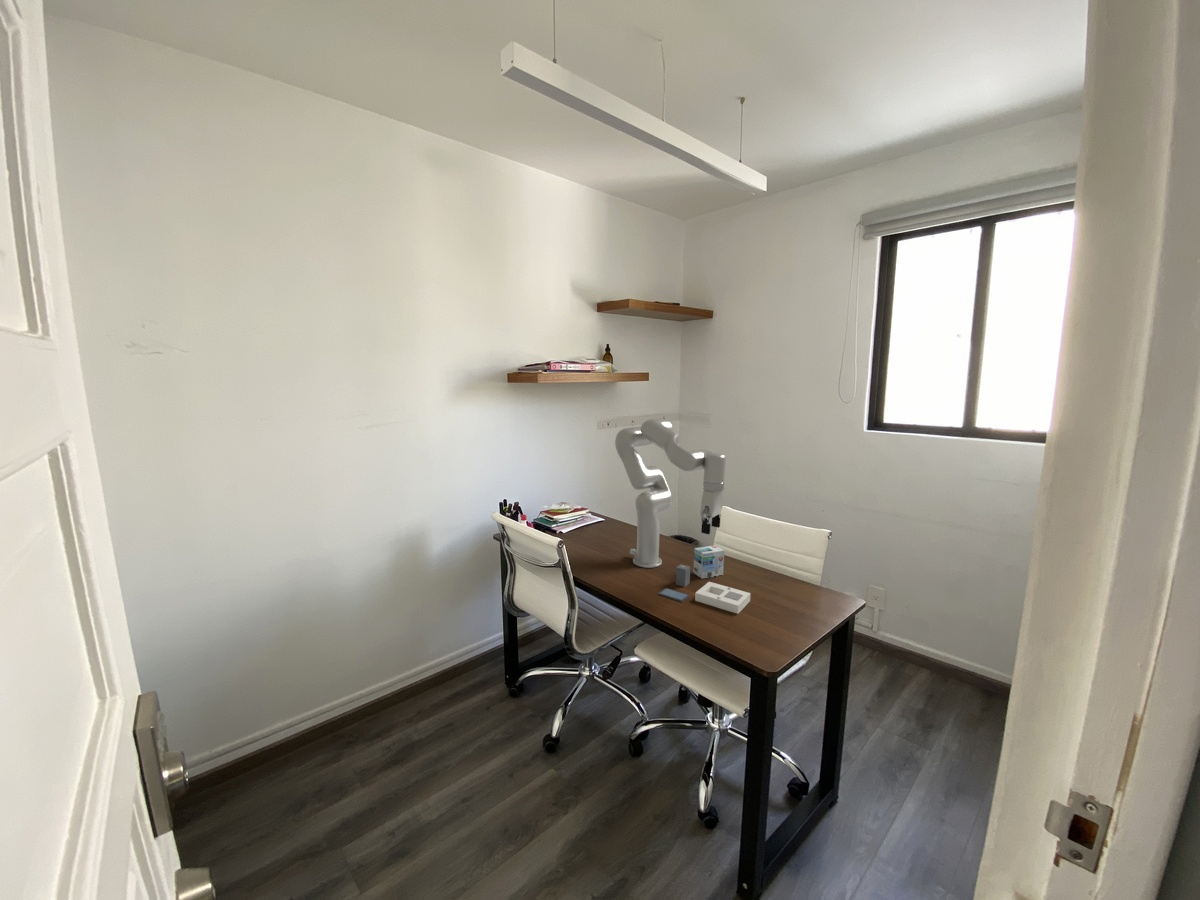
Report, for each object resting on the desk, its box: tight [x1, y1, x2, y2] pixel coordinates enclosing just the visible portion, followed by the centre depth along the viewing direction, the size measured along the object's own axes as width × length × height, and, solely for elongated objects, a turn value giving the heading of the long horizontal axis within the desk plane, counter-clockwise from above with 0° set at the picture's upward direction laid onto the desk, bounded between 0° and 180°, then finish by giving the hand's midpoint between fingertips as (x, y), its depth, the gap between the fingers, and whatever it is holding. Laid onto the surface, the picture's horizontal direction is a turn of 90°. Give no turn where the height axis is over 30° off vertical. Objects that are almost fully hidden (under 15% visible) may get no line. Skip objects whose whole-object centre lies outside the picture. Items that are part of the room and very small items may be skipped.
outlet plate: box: [694, 581, 751, 614], centre depth 173 cm, size 16×12×3 cm
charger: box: [675, 563, 691, 588], centre depth 186 cm, size 4×4×7 cm
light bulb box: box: [692, 544, 725, 579], centre depth 196 cm, size 11×7×11 cm, turn 112°
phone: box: [657, 587, 691, 603], centre depth 177 cm, size 10×6×1 cm, turn 53°
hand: (710, 530), depth 181 cm, fingers open, 9 cm apart
